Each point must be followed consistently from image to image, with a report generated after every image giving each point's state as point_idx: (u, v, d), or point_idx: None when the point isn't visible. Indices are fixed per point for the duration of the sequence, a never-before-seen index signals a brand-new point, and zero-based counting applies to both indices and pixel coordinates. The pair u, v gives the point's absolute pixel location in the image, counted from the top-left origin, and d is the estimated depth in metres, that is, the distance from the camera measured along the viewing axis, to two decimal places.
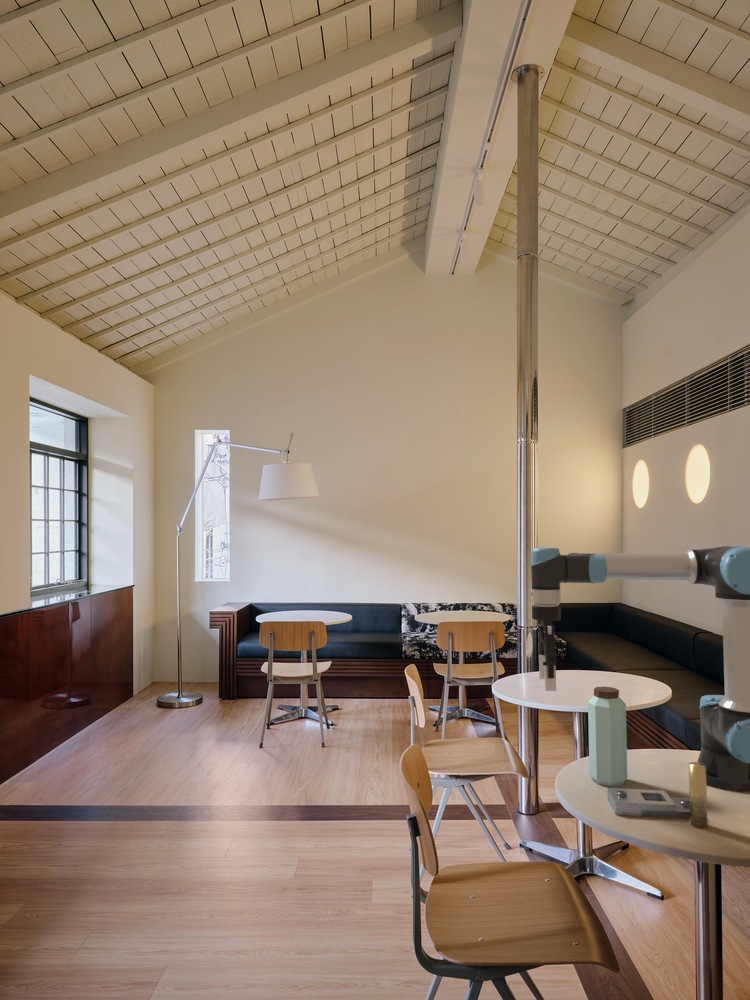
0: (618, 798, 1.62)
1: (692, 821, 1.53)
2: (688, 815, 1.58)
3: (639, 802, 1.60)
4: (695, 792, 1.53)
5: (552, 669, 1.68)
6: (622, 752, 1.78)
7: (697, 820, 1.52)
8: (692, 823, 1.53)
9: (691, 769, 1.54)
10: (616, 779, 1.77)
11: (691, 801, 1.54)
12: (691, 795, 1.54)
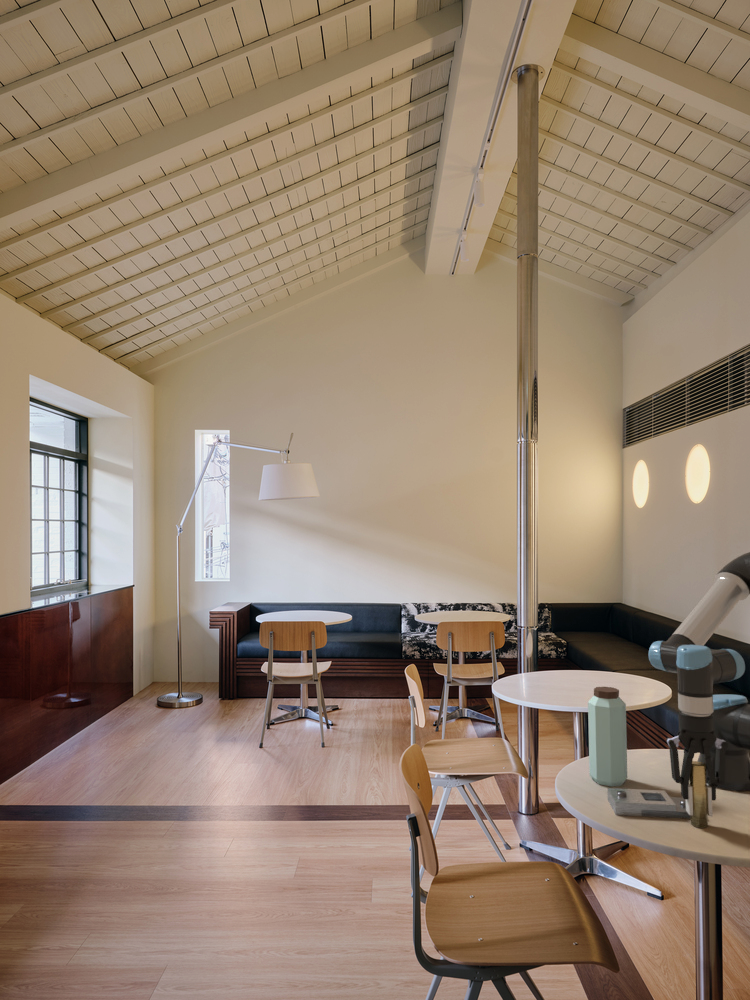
0: (618, 798, 1.62)
1: (692, 820, 1.54)
2: (688, 815, 1.58)
3: (639, 802, 1.60)
4: (696, 791, 1.53)
5: (682, 788, 1.54)
6: (622, 752, 1.78)
7: (698, 820, 1.53)
8: (692, 822, 1.54)
9: (692, 768, 1.54)
10: (616, 779, 1.77)
11: None
12: None
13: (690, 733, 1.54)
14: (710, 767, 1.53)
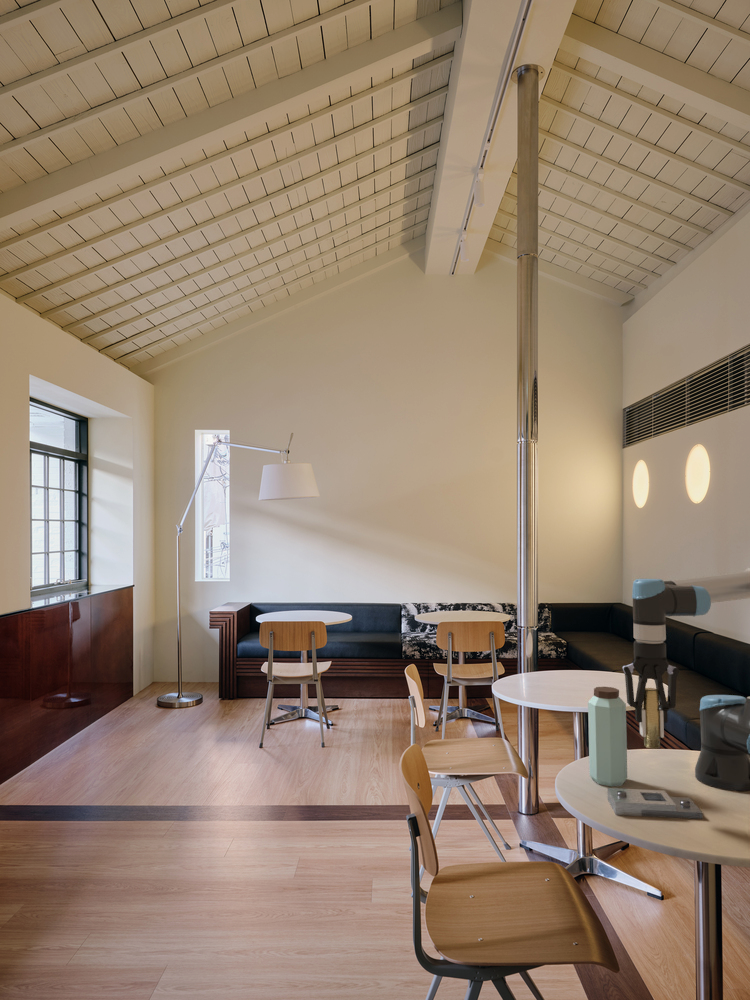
0: (618, 798, 1.62)
1: (645, 742, 1.63)
2: (688, 815, 1.58)
3: (639, 802, 1.60)
4: (649, 715, 1.62)
5: (636, 712, 1.64)
6: (622, 752, 1.78)
7: (650, 741, 1.62)
8: (645, 744, 1.63)
9: (645, 693, 1.63)
10: (616, 779, 1.77)
11: None
12: None
13: (644, 660, 1.64)
14: (662, 691, 1.63)
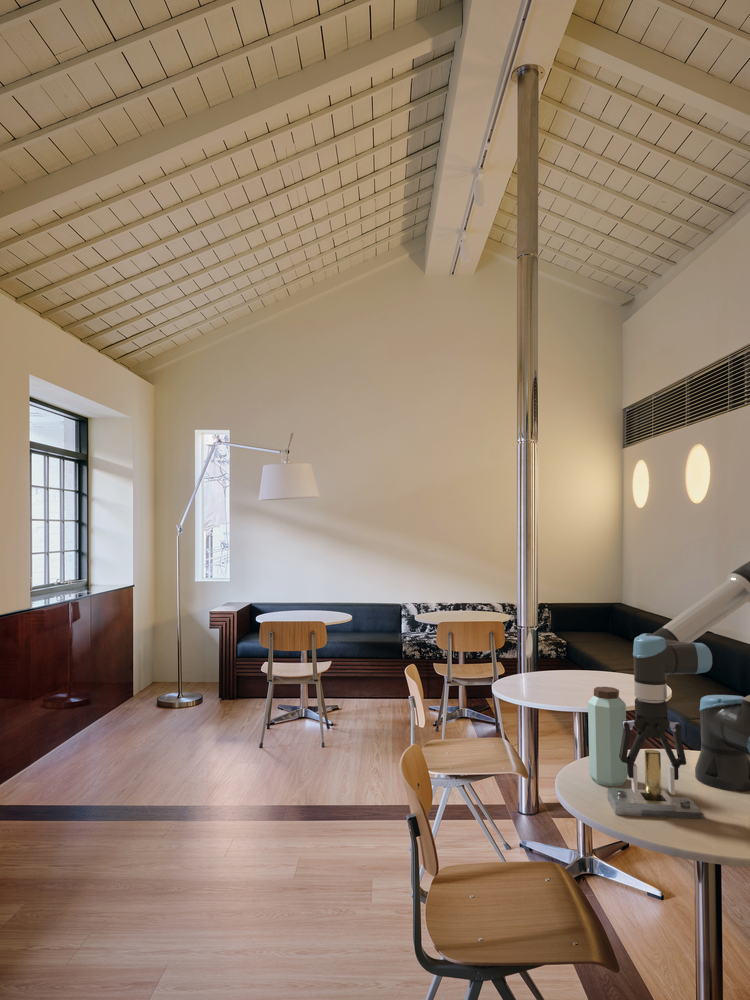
0: (618, 798, 1.62)
1: None
2: (688, 815, 1.58)
3: (639, 802, 1.60)
4: (650, 778, 1.62)
5: (628, 768, 1.64)
6: None
7: None
8: None
9: (647, 756, 1.63)
10: (616, 779, 1.77)
11: (646, 786, 1.63)
12: (646, 781, 1.63)
13: (646, 720, 1.63)
14: (669, 749, 1.62)
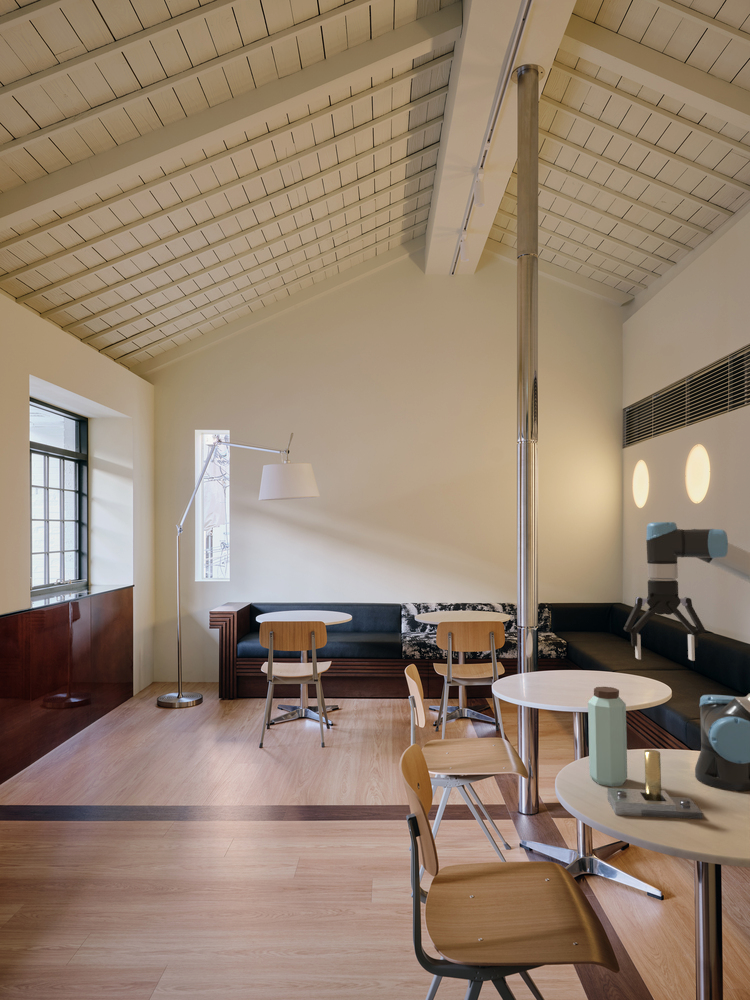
0: (618, 798, 1.62)
1: None
2: (688, 815, 1.58)
3: (639, 802, 1.60)
4: (650, 778, 1.62)
5: (632, 637, 1.77)
6: (622, 752, 1.78)
7: None
8: None
9: (647, 756, 1.63)
10: (616, 779, 1.77)
11: (646, 786, 1.63)
12: (646, 781, 1.63)
13: (659, 600, 1.75)
14: (685, 621, 1.74)
